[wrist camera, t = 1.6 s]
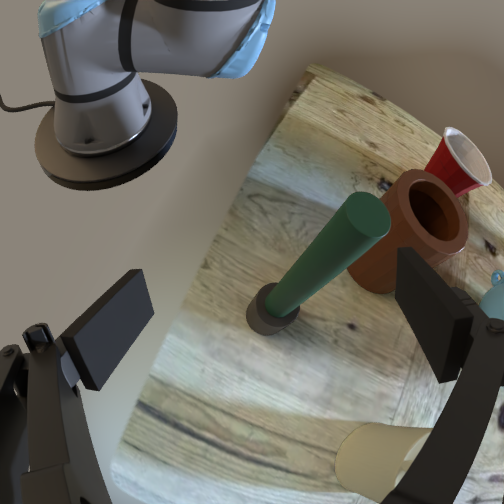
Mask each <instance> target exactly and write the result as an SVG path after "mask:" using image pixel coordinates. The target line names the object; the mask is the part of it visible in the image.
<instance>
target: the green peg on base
mask: <svg viewBox="0 0 504 504" xmlns="http://www.w3.org/2000/svg"><path fill="white" fill-rule="evenodd" d="M390 226H391V218H390V214H389V212H388V210H387V208H386V206H385V205H384V204H383V203H382V201H381V200H379V199H378V198H377V197H376V196H374V195H372V194H370V193H367V192H355V193H353V194H351V195H350V196H349V197H348V198H347V199H346V201H345V202H344V203H343V204H342V206H341V207H340V208H339V209H338V211H337V212H336V213H335V214H334V216H333V217H332V218H331V219H330V221H329V222H328V223H327V224H326V226H325V227H324V228H323V229H322V231H321V232H320V233H319V234H318V236H317V237H316V238H315V239H314V240H313V242H312V243H311V244H310V245H309V247H308V248H307V249H306V250H305V251H304V253H303V254H302V255H301V256H300V257H299V259H298V260H297V261H296V262H295V264H294V265H293V266H292V267H291V268H290V270H289V271H288V272H287V273H286V274H285V275H284V277H283V278H282V279H281V280H280V281H279V283H270V284H267V285H265V286H264V287H262V288H261V289H260V290H259V292H258V293H257V294H256V296H255V297H254V299H253V300H252V301H251V303H250V304H249V306H248V308H247V311H246V318H247V322H248V324H249V326H250V327H251V328H252V329H253V330H254V331H255V332H257V333H258V334H261V335H273V334H275V333H277V332H279V331H280V330H282V329H283V328H285V327H286V326H288V325H290V324H291V323H292V322H294V320H295V319H296V318H297V316H298V314H299V310H300V304H302V303H303V302H304V301H306V300H307V299H308V298H309V297H311V296H312V295H313V294H315V293H316V292H317V291H318V290H320V289H321V288H322V287H323V286H325V285H326V284H327V283H329V282H330V281H331V280H332V279H334V278H335V277H336V276H337V275H338V274H340V273H341V272H342V271H343V270H345V269H346V268H347V267H348V266H349V265H351V264H352V263H353V262H354V261H356V260H357V259H358V258H359V257H360V256H362V255H363V254H364V253H365V252H366V251H368V250H369V249H370V248H371V247H372V246H373V245H375V244H376V243H377V242H378V241H379V240H380V239H382V238H383V237H384V236H385V235H386V234H387V233H388V232H389V230H390Z"/></svg>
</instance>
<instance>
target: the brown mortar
mask: <svg viewBox="0 0 504 504" xmlns="http://www.w3.org/2000/svg"><path fill="white" fill-rule="evenodd" d="M379 200H381V201H382V203H383V204H384V205H385V206H386V208H387V210H388V212H389V214H390V218H391V226H390V230H389V232H388V233H387V234H386V235H385V236H384V237H383V238H382V239H380V240H379V241H378V242H377V243H376V244H375V245H373V246H372V247H371V248H370V249H369V250H368V251H366V252H365V253H364V254H363V255H362V256H360V257H359V258H358V259H357V260H356V261H354V262H353V263H352V264H351V265H349V266H348V267H347V269H348V271H349V273H350V275H351V276H352V277H353V279H354V280H355V281H356V282H357V283H358V284H359V285H360V286H361V287H363V288H364V289H366V290H368V291H370V292H373V293H377V294H386V293H390V292H392V291H394V290H396V271H397V248H400V247H412V248H413V249H414V250H415V251H416V252H417V253H418V254H419V255H420V256H421V257H422V258H423V259H424V260H425V261H426V262H427V263H428V264H429V265H430V266H431V267H432V269H433V268H434V267H436V266H438V265H439V264H441V263H443V262H444V261H446V260H447V259H449V258H451V257H452V256H454V255H455V254H457V253H459V252H460V251H461V250H462V249H463V248H464V246H465V244H466V241H467V238H468V224H467V220H466V216H465V213H464V211H463V209H462V206H461V204H460V202H459V200H458V199H457V198H456V196H455V195H454V193H453V192H452V191H451V189H450V188H449V187H448V186H447V185H446V184H445V183H444V182H443V181H442V180H440V179H439V178H437V177H436V176H434V175H433V174H431V173H429V172H426V171H423V170H418V169H411V170H408V171H406V172H404V173H403V174H402V175H401V176H400V177H399V178H398V179H397V181H396V182H395V183H394V184H393V185H392V186H391V187H390V188H389V189H388V190H387V192H386V193H385V194H384V195H383V196H382V197H381V198H380V199H379Z"/></svg>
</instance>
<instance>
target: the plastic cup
mask: <svg viewBox="0 0 504 504" xmlns="http://www.w3.org/2000/svg"><path fill="white" fill-rule="evenodd" d="M424 171H426V172H429V173H431V174H433V175H434V176H436V177H437V178H439V179H440V180H442V181H443V182H444V183H445V184H446V185H447V186H448V187H449V188H450V189H451V191H452V192H453V193H454V195H455V196H456V198H458V197H460V196H462V195H463V194H465V193H467V192H469V191H471V190H473V189H475V188H477V187H480V186H484V185H485V186H487V185H489V184H490V183H492V174H491V171H490V168H489V166H488V164H487V162H486V160H485V159H484V157H483V155H482V154H481V152H480V151H479V150H478V148H477V147H476V146H475V145H474V144H473V142H472V141H471V140H470V139H469V138H468V137H467V136H465V135H464V134H463V133H461V132H460V131H459V130H457V129H454V128H452V127H447V128H445V131H444V134H443V138H442V140H441V142H440V144H439V146H438V148H437V149H436V151H435V153H434V154H433V156H432V158H431V159H430V161H429V162H428V164H427V166H426V167H425V169H424Z"/></svg>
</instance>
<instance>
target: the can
mask: <svg viewBox="0 0 504 504" xmlns="http://www.w3.org/2000/svg"><path fill="white" fill-rule="evenodd" d="M432 429H433V428H417V427H402V426H392V425H386V424H383V423H369V424H366V425H363V426H361V427H359V428H357V429H356V430H354V431H353V432H352V433H351V434H350V435H349V436H348V437H347V438H346V439H345V440H344V442H343V443H342V445H341V446H340V448H339V450H338V453H337V456H336V460H335V472H336V476H337V479H338V481H339V482H340V484H341V485H342V486H343V487H344V488H345V489H347V490H349V491H351V492H355V493H358V494H360V495H362V496H364V497H366V498H368V499H371V500H373V501H375V502H377V503H379V504H380V503H381V502H382V501H383V499H384V498H385V497H386V496H387V495H388V493H389V492H390V491H392V490H393V489H394V488H395V487H396V486H397V484H398V483H399V482H400V480H401V479H402V477H403V476H404V474H405V473H406V472H407V470H408V469H409V467H410V466H411V464H412V462H413V461H414V459H415V458H416V456H417V455H418V453H419V451H420V450H421V448H422V447H423V445H424V443H425V442H426V440H427V438H428V436H429V435H430V433H431V431H432Z"/></svg>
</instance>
